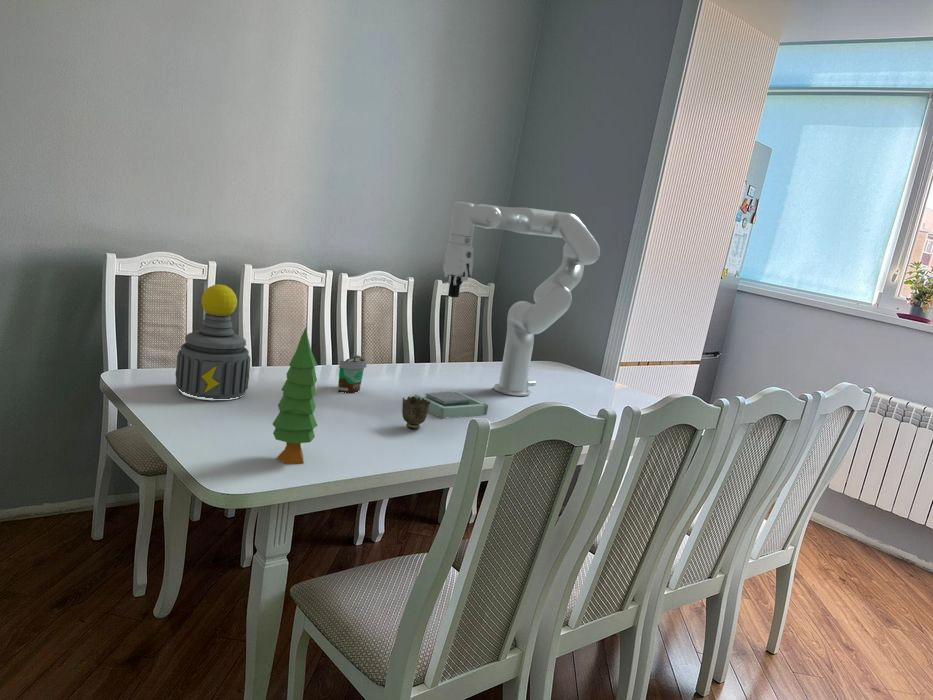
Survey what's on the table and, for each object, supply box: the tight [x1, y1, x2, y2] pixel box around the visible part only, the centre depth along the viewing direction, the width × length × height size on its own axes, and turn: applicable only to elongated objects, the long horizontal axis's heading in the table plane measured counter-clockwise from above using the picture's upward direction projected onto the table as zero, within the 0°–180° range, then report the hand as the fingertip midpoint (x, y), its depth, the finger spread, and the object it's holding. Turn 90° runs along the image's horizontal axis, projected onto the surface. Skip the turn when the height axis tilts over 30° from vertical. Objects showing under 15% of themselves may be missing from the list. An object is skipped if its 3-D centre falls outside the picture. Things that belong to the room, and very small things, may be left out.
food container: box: [337, 354, 367, 394], centre depth 225 cm, size 12×6×10 cm, turn 168°
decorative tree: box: [272, 327, 318, 465], centre depth 160 cm, size 10×9×30 cm
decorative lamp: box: [175, 284, 251, 399], centre depth 199 cm, size 19×19×30 cm
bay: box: [413, 391, 489, 419], centre depth 221 cm, size 17×14×3 cm
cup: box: [401, 395, 430, 431], centre depth 196 cm, size 8×7×8 cm
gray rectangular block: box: [425, 391, 470, 407], centre depth 220 cm, size 10×8×4 cm
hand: (453, 296), depth 241 cm, fingers closed
